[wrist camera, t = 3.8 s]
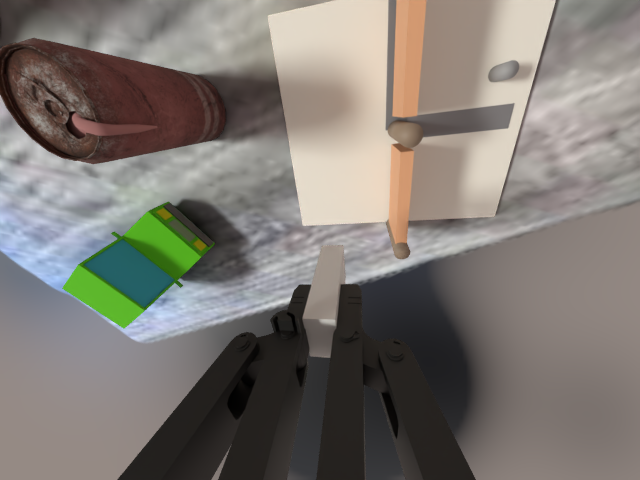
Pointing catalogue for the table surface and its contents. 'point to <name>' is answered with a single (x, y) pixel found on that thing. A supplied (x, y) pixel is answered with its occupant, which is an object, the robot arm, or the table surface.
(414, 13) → the fixed panel
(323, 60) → the card
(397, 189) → the panel
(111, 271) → the toy car
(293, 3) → the table surface
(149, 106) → the can
